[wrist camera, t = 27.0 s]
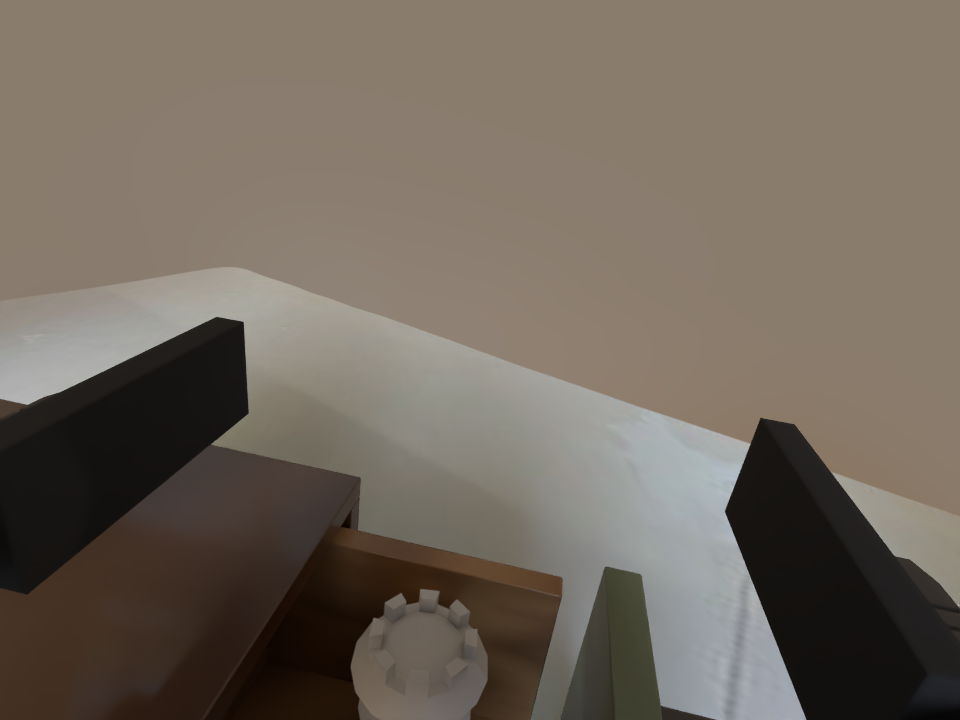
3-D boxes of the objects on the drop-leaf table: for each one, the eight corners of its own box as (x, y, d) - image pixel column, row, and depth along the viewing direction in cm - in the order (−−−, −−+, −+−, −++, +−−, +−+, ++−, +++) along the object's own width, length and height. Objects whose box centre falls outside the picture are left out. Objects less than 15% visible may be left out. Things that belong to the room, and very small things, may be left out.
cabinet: (351, 664, 22) (361, 477, 18) (142, 1145, 11) (66, 931, 8) (47, 586, 24) (-1, 398, 20) (-387, 948, 13) (-663, 690, 9)
